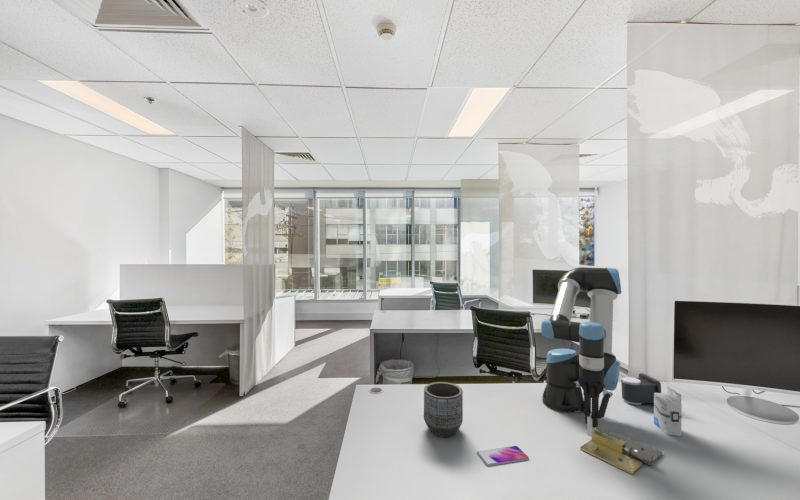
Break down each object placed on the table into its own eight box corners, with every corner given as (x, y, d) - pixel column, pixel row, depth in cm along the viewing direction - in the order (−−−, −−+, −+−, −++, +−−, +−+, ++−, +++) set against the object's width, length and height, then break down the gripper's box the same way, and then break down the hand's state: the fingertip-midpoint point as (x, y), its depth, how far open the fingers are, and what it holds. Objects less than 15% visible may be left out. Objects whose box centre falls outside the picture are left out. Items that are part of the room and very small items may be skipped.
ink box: (653, 422, 125) (653, 384, 125) (667, 424, 124) (667, 385, 124) (666, 434, 117) (666, 393, 117) (682, 436, 116) (682, 394, 116)
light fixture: (615, 398, 148) (614, 374, 148) (644, 396, 148) (642, 372, 148) (633, 409, 137) (632, 383, 137) (664, 407, 137) (662, 381, 137)
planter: (466, 424, 123) (466, 385, 123) (456, 445, 110) (457, 401, 110) (431, 416, 129) (431, 379, 129) (418, 435, 116) (418, 393, 116)
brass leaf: (580, 449, 108) (580, 439, 108) (596, 438, 114) (596, 429, 114) (632, 474, 96) (632, 464, 96) (646, 460, 102) (646, 451, 102)
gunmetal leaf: (596, 443, 111) (596, 434, 111) (611, 433, 118) (611, 424, 118) (649, 467, 99) (649, 457, 99) (662, 454, 105) (662, 444, 105)
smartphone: (475, 451, 106) (516, 445, 110) (475, 454, 106) (516, 447, 110) (486, 465, 99) (529, 457, 103) (486, 468, 99) (529, 460, 103)
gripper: (567, 364, 117) (567, 429, 117) (606, 375, 107) (606, 447, 106) (578, 360, 122) (578, 423, 121) (616, 370, 111) (616, 440, 111)
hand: (591, 434), depth 114 cm, fingers closed
